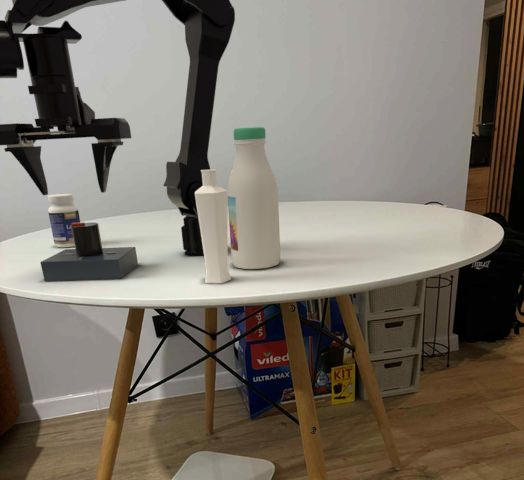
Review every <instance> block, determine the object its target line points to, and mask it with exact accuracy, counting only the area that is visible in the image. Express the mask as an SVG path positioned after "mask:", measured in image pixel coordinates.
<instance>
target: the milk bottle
mask: <svg viewBox="0 0 524 480" xmlns="http://www.w3.org/2000/svg"><path fill="white" fill-rule="evenodd" d="M233 140H234V146H235V156H234V157H235V158H234V161H233V165H232V168H231V171H230V174H229V177H228V183H227V191H228V224H229V225H228V226H229V227H228V228H229V239H230V241H229V242H230V252H231V253H230V256H231V262H232V265H233V266H234V267H236V268H239V269H245V270H260V269H267V268H272V267H276V266H277V265H279V264H280V262H281V237H280V211H279V207H280V206H279V194H278V185H277V180H276V179H277V178H276V177H275V173H274V171H273V169H272V168H271V165H270V163H269V161H268V157H267V153H266V150H265V144H266V143H267V142H266V127H262V126H255V127H254V126H253V127H238V128H234V129H233Z"/></svg>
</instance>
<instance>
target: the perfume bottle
mask: <svg viewBox="0 0 524 480" xmlns="http://www.w3.org/2000/svg"><path fill="white" fill-rule="evenodd" d="M216 171H217V169H214V168H213V169H212V168H210V169H209V170H201V172H202V181H203V186H202V187H200V188H199V189H198V190H197V191H195V199H196V206H197V212H198V219H199V225H200V232H201V238H202V245H203V251H204V254H203V257H204V263H205V269H206V270H205V279H204V281H205V282H204V283H205V284H224V283H226V282H228V281H230V280H232V276H231V275H230V272H229V267H228V265H229V263H228V262H229V261H228V259H229V258H228V256H229V255H228V254H229V253H228V252H229V250H228V248H229V245H228V241H229V239H228V238H229V237H228V234H229V233H228V230H229V229H228V228H229V227H228V226H229V225H228V224H229V212H228V189H225V188H223V187H221V186H219V185H217V174H216Z"/></svg>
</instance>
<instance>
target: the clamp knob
mask: <svg viewBox="0 0 524 480" xmlns="http://www.w3.org/2000/svg"><path fill="white" fill-rule="evenodd" d="M71 225H72V226H71V229H72V234H73V239H74V244H75V246H74V249H76V254H77V256H94V255H99V254H102V253H103V249H102V248H103V244H102V238H101V231H100V225H99V223H98V222H85V221H84V222H80V223H71Z"/></svg>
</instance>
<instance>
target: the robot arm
mask: <svg viewBox="0 0 524 480" xmlns="http://www.w3.org/2000/svg"><path fill="white" fill-rule="evenodd" d="M125 1H126V0H11V2H12V8H11V9H7V11H6V14H5V16H4V19H0V79H17V78H18V70H19V71H24V70H25V63H24V56H23V52H22V50H23V49H24V54H25V59H26V63H27V68H28V72H29V78H30V82H31V85H28V86H27V90H28V95H33V97H34V102H35V107H36V112H37V117H38V118H34V123H35V126H34V124H33V123H19V122H18V123H1V124H0V146H6V147H4V152H6V153H11V155H12V156H13V157H14V158H15V159H16V160H17V162H18V163H19V164H20V165H21V167H22V168H23V169H24V170H25V172H26V173H27V174H28V175H29V177H30V179H31V180H32V182H33V183H34V184H35V186H36V187H37V189H38V191H39V192H40V194H42V196H49V189H48V183H47V178H46V174H45V172H44V171H45V170H44V167H43V162H42V158H41V153H42V145H38V146H37V145H34V144H35V143H36V142H37V141H45V140H64V139H65V140H66V139H83V138H95V139H96V140H97V142H91V143H90V144H91V149H92V156H93V162H94V167H95V171H96V172H95V173H96V178H97V183H98V187H99V190H100V193H101V194H102V193H103V194H104V193H106V192H107V187H108V180H109V174H110V170H111V164H112V160H113V157H114V154H115V152H116V150H117V148H118V146H124V141H122V140H126V139H132V133H131V126H130V124H129V121H128V120H127V119H125V118H123V117H122V118H121V117H105V118H104V117H103V118H96V111H94V109H92V107H90V106H89V105H88V104H87V103H86V102H84V101H83V99H82V96H81V91H80V88H79V86H76V83H75V78H74V72H73V67H72V66H73V65H72V61H71V54H70V49H69V44H71V45H75V44H77V43H78V42H80V41H81V40H82V38H83V36H82V34H81V33H80V32H78V31H77V30H76V29H75V28H74V27H73V26H72V25H71V24H70V23H69V21H68V20H64V21H63V22H62V24H61V26H60V27H57V26H46V25H49V24H51V23H53V22H56V21H59V20H61V19H63V18H66V17H67V16H70V15H72V14H73V13H76V12H78V11H81V10H82V9H86V8H89V7H94V6H101V5H107V4H112V3H113V4H114V3H119V2H125ZM161 2H162V3H163V4H164V5H165V6H166V8H167V9H168V11H169V12H170V13H171V14H172V16H173V17H174V18H175V19H176V20H178V21H179V22H180V23H181V24H182V25H184V38H185V39H184V40H185V44H186V48H187V54H188V56H189V65H188V75H187V86H186V93H185V95H186V96H185V101H184V102H185V103H184V112H183V113H184V114H183V122H182V129H181V130H182V131H181V139H180V140H181V141H180V148H179V153H178V155H177V157H176V160H175V161H166V163H165V165H166V166H165V169H166V177H165V181H164V183H163V184H162V186H163V187H165V188H166V195H167V198H168V199H169V201H170V202H171V203H172V205H174V206H175V207H177V209H178V211H179V213H180V215H181V216H183V219H182V220H183V225H182V226H181V227H180V228H181V229H180V230H181V231H180V232H181V239H182V247H183V248H182V249H183V250H184V256H200V255H201V256H202V255H203V256H204V251H203V245H202V238H201V232H200V225H199V219H198V212H197V206H196V199H195V191H197V190H198V189H199V188H200V187H202V186H203V181H202V172H201V170H209V169H211V166H210V162H209V154H208V153H209V146H210V138H211V130H212V123H213V122H212V121H213V114H214V105H215V97H216V90H217V82H218V73H219V66H220V62H221V60H222V58H223V55H224V53H225V51H226V49H227V47H228V45H229V42H230V39H231V36H232V34H233V33H232V32H233V30H234V26H235V22H236V21H235V20H236V10H235V8H234V6H233V5H232V2H231V0H161ZM32 25H33V26H36V27H37V31H36V33H24V32H25V31H26V30H28V29H29V28H30V27H31V26H32ZM21 43H22V44H23V49H22V47H21ZM55 128H57V130H54V129H55Z"/></svg>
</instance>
